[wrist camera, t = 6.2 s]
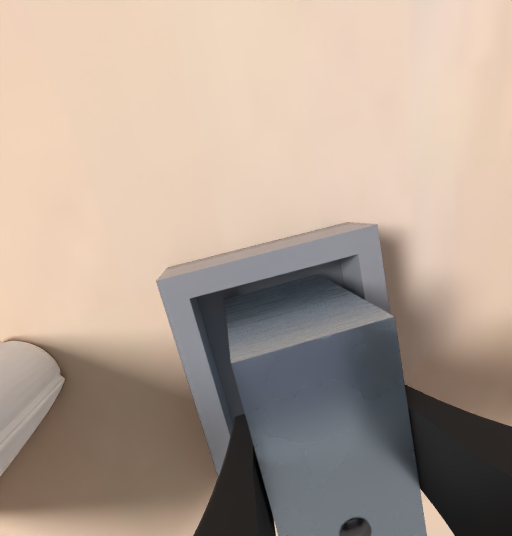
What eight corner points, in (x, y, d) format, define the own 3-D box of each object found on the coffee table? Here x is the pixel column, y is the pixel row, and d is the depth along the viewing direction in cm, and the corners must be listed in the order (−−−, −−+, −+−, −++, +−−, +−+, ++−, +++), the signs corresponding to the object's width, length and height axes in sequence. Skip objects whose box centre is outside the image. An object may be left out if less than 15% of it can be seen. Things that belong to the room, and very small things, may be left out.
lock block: (318, 273, 14) (395, 317, 8) (346, 419, 15) (429, 547, 9) (224, 299, 13) (231, 364, 7) (263, 445, 15) (295, 596, 9)
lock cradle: (347, 222, 15) (377, 224, 12) (382, 432, 17) (413, 473, 14) (167, 267, 14) (156, 280, 11) (232, 480, 16) (236, 533, 14)
